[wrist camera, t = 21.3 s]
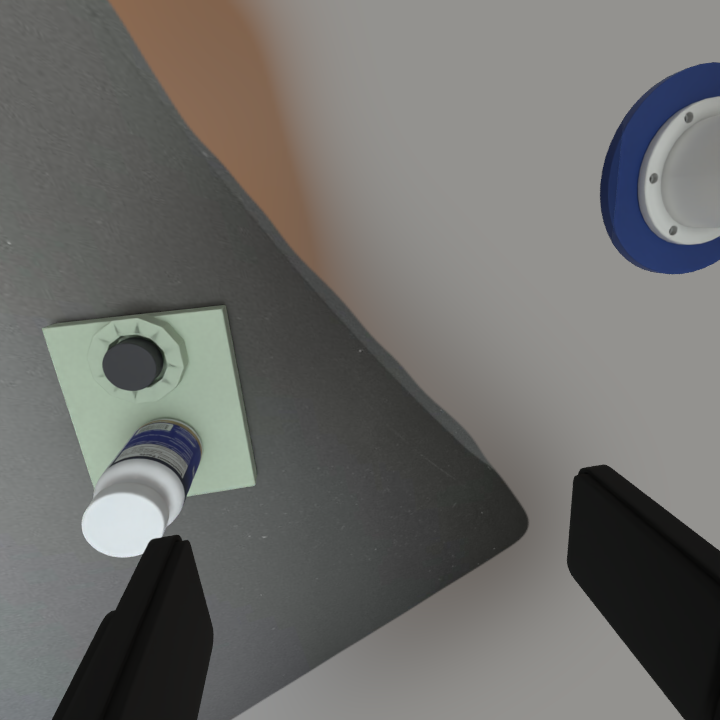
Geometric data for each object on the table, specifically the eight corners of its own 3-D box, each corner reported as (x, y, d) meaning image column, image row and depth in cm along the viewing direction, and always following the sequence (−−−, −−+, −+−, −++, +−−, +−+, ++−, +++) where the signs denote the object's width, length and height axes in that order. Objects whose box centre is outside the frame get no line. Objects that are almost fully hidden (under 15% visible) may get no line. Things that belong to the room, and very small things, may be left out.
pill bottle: (177, 488, 36) (136, 579, 26) (116, 453, 34) (49, 538, 25) (218, 441, 35) (191, 516, 26) (158, 402, 33) (105, 469, 24)
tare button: (106, 340, 30) (95, 346, 29) (157, 334, 31) (149, 340, 29) (119, 386, 31) (109, 394, 30) (168, 379, 32) (161, 387, 30)
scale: (53, 319, 32) (26, 329, 29) (225, 301, 34) (217, 309, 30) (110, 497, 37) (92, 523, 34) (257, 474, 39) (253, 496, 35)
